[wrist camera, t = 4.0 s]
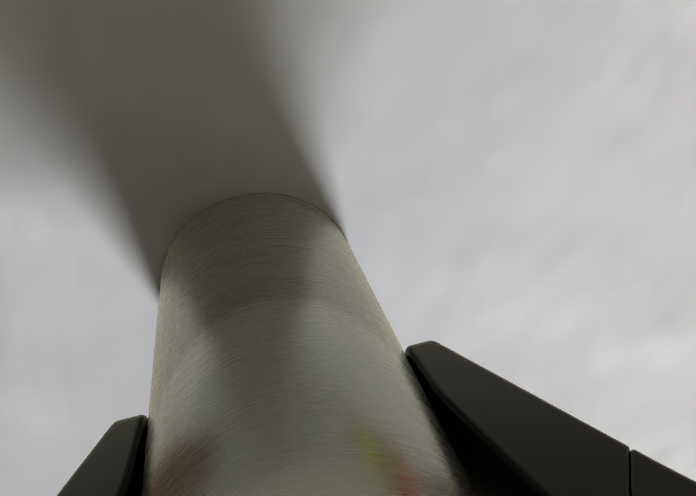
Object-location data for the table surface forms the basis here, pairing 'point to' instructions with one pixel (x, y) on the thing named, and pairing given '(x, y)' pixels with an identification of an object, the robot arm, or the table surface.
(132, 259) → the table surface
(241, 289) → the long pin
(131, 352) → the table surface
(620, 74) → the table surface
